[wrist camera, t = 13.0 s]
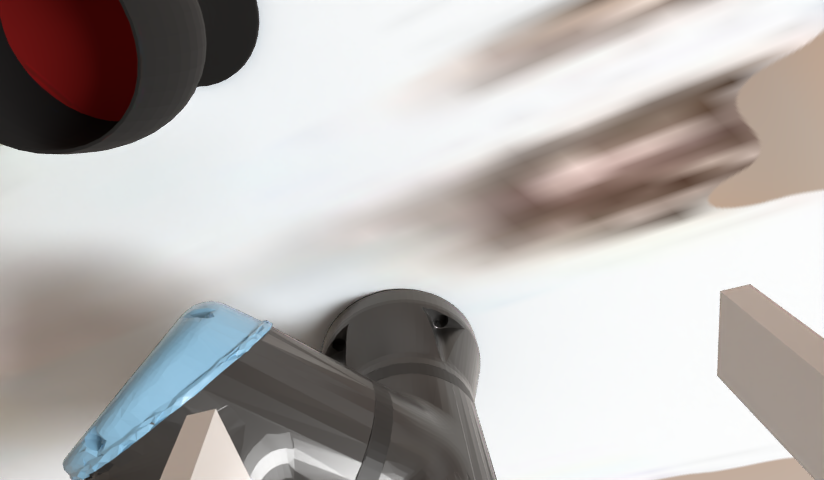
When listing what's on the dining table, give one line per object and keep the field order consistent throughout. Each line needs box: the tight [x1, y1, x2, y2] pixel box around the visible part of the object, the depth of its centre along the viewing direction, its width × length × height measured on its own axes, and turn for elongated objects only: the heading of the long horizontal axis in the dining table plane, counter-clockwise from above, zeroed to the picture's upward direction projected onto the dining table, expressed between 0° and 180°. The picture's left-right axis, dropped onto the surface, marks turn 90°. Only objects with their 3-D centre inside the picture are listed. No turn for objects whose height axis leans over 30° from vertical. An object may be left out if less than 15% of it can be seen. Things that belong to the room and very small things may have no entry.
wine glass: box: [0, 0, 259, 154], centre depth 29 cm, size 10×10×20 cm
